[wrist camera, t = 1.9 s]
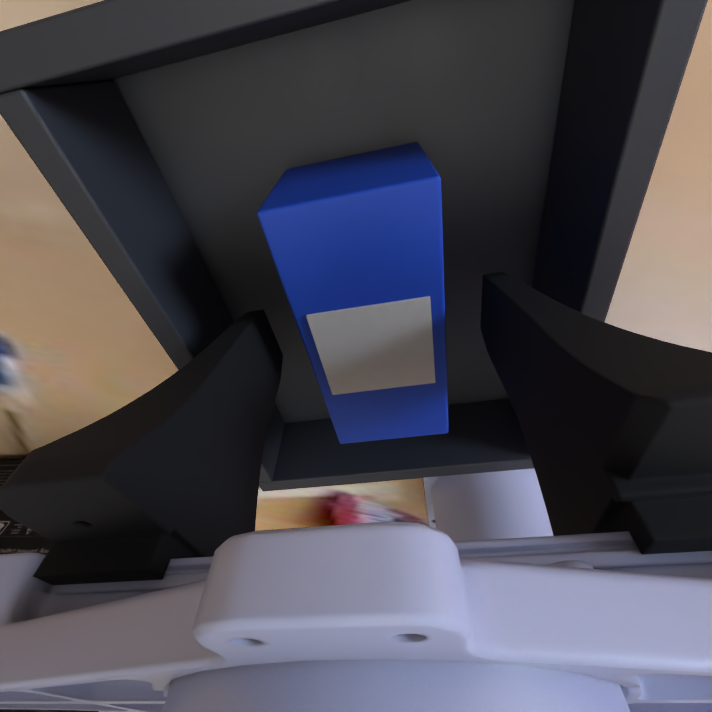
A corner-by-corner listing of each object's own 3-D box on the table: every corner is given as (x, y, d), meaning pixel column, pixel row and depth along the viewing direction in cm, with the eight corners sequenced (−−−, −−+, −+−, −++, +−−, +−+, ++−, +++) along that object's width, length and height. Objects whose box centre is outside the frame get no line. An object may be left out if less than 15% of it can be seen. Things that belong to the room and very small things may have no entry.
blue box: (433, 363, 16) (449, 436, 13) (343, 374, 17) (339, 447, 14) (419, 140, 11) (442, 176, 7) (284, 169, 11) (253, 213, 8)
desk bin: (527, 400, 18) (558, 467, 15) (277, 427, 20) (262, 491, 17) (618, -104, 8) (775, -202, 5) (78, 48, 10) (-50, 45, 7)
